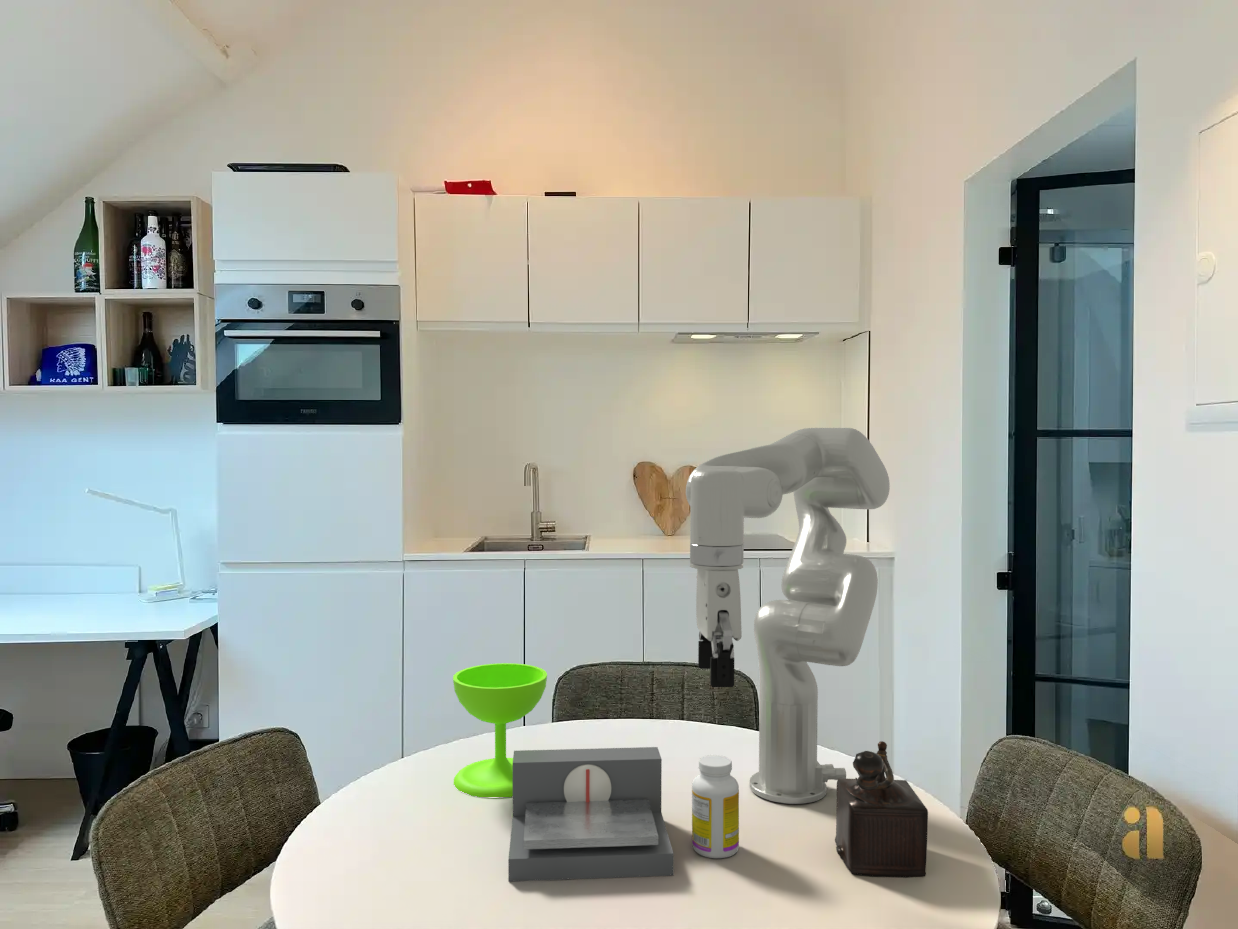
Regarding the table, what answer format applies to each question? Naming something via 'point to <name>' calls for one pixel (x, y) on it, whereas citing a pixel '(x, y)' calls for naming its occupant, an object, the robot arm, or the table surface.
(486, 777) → the wineglass
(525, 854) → the scale
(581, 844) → the pan
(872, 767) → the manual coffee grinder
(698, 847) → the supplement bottle
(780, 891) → the table surface
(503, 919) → the table surface
